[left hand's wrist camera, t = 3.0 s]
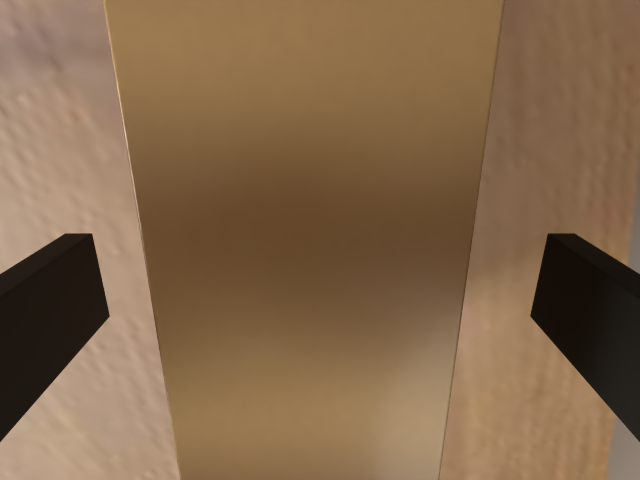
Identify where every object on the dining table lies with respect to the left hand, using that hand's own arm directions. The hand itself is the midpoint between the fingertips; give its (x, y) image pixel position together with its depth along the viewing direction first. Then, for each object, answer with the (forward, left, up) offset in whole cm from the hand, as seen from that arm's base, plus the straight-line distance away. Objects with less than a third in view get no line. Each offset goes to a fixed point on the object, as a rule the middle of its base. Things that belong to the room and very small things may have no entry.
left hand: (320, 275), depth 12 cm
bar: (+8, 0, -4) cm, 9 cm away
